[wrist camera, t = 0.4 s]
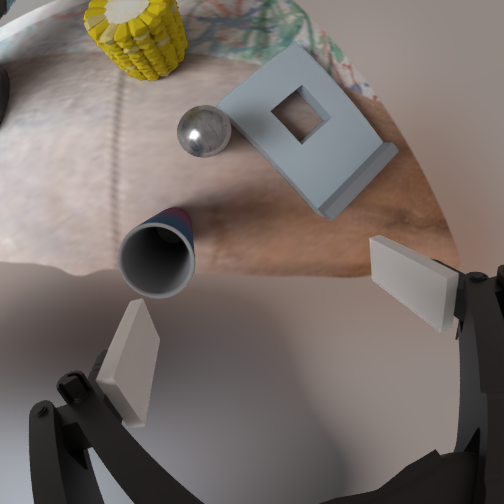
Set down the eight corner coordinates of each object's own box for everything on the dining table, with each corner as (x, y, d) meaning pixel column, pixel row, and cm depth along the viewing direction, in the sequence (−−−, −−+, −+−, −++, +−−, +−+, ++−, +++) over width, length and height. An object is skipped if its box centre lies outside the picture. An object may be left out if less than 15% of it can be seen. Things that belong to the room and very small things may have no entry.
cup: (182, 191, 37) (169, 207, 23) (207, 235, 39) (209, 276, 25) (139, 217, 37) (103, 247, 23) (165, 259, 39) (145, 310, 25)
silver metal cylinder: (176, 141, 35) (166, 132, 25) (204, 113, 34) (205, 95, 25) (204, 167, 37) (203, 168, 27) (232, 140, 36) (242, 130, 27)
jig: (216, 108, 34) (217, 99, 29) (289, 48, 33) (301, 34, 28) (316, 213, 41) (332, 221, 36) (378, 151, 39) (399, 151, 34)
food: (159, 95, 34) (113, 60, 31) (217, 32, 30) (166, 0, 28) (104, 84, 20) (49, 42, 18) (192, -14, 16) (123, -45, 14)
